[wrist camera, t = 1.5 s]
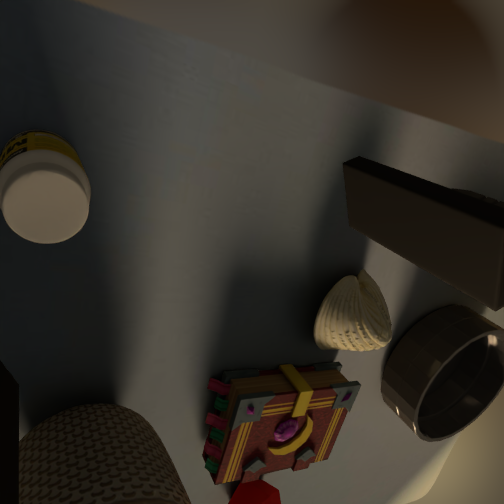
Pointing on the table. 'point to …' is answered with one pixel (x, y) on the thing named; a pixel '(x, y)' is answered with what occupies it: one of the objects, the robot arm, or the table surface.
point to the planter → (97, 460)
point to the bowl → (445, 372)
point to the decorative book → (275, 419)
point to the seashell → (353, 316)
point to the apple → (255, 493)
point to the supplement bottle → (43, 187)
